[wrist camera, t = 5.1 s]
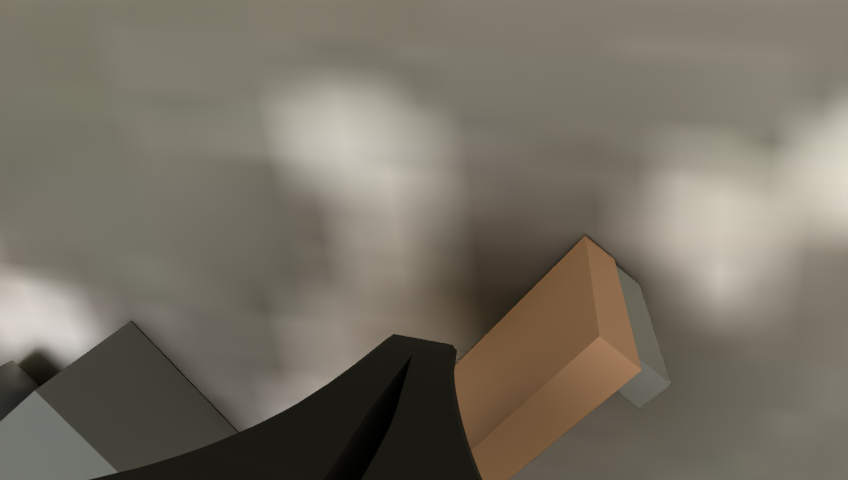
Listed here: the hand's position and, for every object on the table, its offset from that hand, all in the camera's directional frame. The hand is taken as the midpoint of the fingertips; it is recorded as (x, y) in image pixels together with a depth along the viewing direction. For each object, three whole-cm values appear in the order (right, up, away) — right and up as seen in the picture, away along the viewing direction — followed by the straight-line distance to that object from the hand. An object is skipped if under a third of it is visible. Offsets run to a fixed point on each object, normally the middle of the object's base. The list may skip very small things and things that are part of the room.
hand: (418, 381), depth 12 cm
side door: (+1, -2, +6) cm, 7 cm away
